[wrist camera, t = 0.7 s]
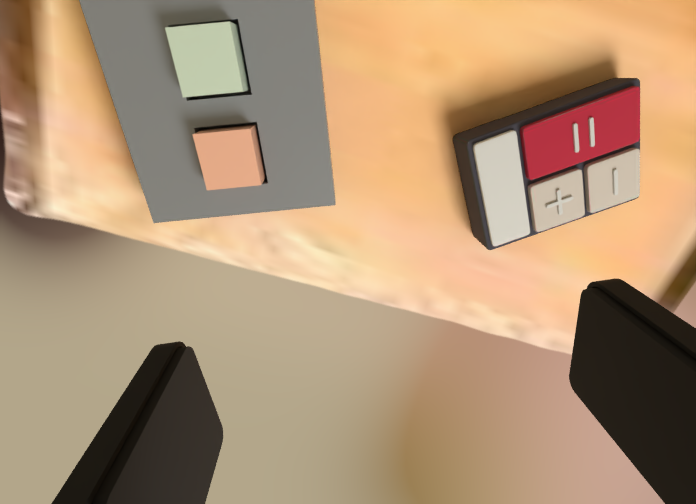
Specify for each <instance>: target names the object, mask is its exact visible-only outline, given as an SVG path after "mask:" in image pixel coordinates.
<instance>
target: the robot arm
mask: <svg viewBox="0 0 696 504" xmlns="http://www.w3.org/2000/svg"><path fill="white" fill-rule="evenodd" d="M569 379H570V383H571V386H572V389H573V390H574V392H575V393H576V394H577V395H578V397H579V398H580V399H581V400H582V402H583V403H584V404H585V405H586V407H587V408H588V409H589V410H590V412H591V413H592V414H593V415H594V416H595V418H596V419H597V420H598V421H599V423H600V424H601V425H602V426H603V428H604V429H605V430H606V431H607V433H608V434H609V435H610V436H611V437H612V439H613V440H614V441H615V442H616V444H617V445H618V446H619V447H620V449H621V450H622V451H623V452H624V453H625V455H626V456H627V457H628V458H629V460H631V462H632V463H633V465H634V466H635V467H636V468H637V470H638V471H639V472H640V473H641V474H642V476H643V477H644V478H645V479H646V481H647V482H648V483H649V484H650V485H651V487H652V488H653V489H654V490H655V492H656V493H657V494H658V495H659V496H660V498H661V499H662V500H663V502H664V503H665V504H696V328H694V327H692V326H691V325H690V324H688V323H687V322H685V321H683V320H682V319H681V318H679V317H677V316H676V315H674V314H673V313H671V312H670V311H668V310H667V309H665V308H664V307H662V306H661V305H659V304H658V303H656V302H655V301H653V300H652V299H650V298H649V297H647V296H646V295H644V294H643V293H641V292H640V291H638V290H637V289H635V288H634V287H632V286H630V285H629V284H627V283H626V282H624V281H623V280H621V279H610V280H603V281H596V282H592V283H590V284H589V285H588V286H587V289H585V290H583V291H582V293H581V298H580V305H579V312H578V319H577V326H576V333H575V339H574V346H573V353H572V360H571V367H570V374H569ZM222 441H223V428H222V425H221V422H220V419H219V416H218V414H217V411H216V409H215V406H214V403H213V401H212V398H211V396H210V393H209V390H208V388H207V385H206V382H205V379H204V377H203V374H202V371H201V369H200V366H199V364H198V361H197V358H196V356H195V353H194V351H193V349H192V348H191V347H186V346H185V344H184V343H183V342H174V343H167V344H160V345H156V346H154V347H153V348H152V350H151V351H150V353H149V355H148V356H147V358H146V359H145V361H144V362H143V364H142V365H141V367H140V368H139V370H138V371H137V373H136V374H135V376H134V377H133V379H132V380H131V382H130V384H129V385H128V387H127V388H126V390H125V391H124V393H123V394H122V396H121V397H120V399H119V401H118V402H117V404H116V405H115V407H114V408H113V410H112V411H111V413H110V414H109V416H108V418H107V419H106V421H105V422H104V424H103V425H102V427H101V428H100V430H99V431H98V433H97V434H96V436H95V438H94V439H93V441H92V442H91V444H90V446H89V447H88V448H87V450H86V451H85V453H84V455H83V456H82V458H81V459H80V461H79V462H78V464H77V465H76V467H75V469H74V470H73V471H72V473H71V475H70V476H69V478H68V479H67V481H66V482H65V484H64V485H63V487H62V489H61V490H60V492H59V493H58V495H57V496H56V498H55V499H54V501H53V502H52V504H205V501H206V498H207V494H208V491H209V487H210V483H211V480H212V477H213V473H214V470H215V466H216V462H217V459H218V456H219V452H220V449H221V445H222Z"/></svg>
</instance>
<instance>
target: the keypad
mask: <svg viewBox="0 0 696 504" xmlns="http://www.w3.org/2000/svg"><path fill="white" fill-rule="evenodd" d="M79 1H80V4H81V7H82V10H83V13H84V16H85V19H86V22H87V25H88V28H89V31H90V34H91V37H92V40H93V43H94V46H95V49H96V52H97V55H98V58H99V61H100V64H101V67H102V70H103V73H104V76H105V79H106V82H107V85H108V88H109V91H110V94H111V97H112V100H113V103H114V106H115V109H116V112H117V115H118V118H119V121H120V124H121V127H122V130H123V133H124V136H125V139H126V142H127V145H128V148H129V151H130V154H131V157H132V160H133V163H134V165H135V168H136V171H137V174H138V177H139V180H140V183H141V186H142V189H143V192H144V195H145V198H146V201H147V204H148V207H149V210H150V213H151V216H152V219H153V222H154V223H159V222H169V221H179V220H189V219H199V218H209V217H219V216H229V215H239V214H249V213H260V212H270V211H280V210H290V209H300V208H310V207H320V206H330V205H336V204H335V190H334V181H333V172H332V162H331V153H330V143H329V134H328V124H327V115H326V105H325V96H324V86H323V77H322V67H321V58H320V48H319V39H318V29H317V20H316V10H315V1H314V0H79ZM229 21H230V22H232V23H234V24H236V25H238V30H239V36H240V41H241V47H242V52H243V57H244V63H245V68H246V74H247V79H248V84H249V90H248V91H244V92H235V93H224V94H214V95H204V96H193V97H183V96H182V92H181V88H180V84H179V80H178V77H177V73H176V69H175V65H174V61H173V57H172V53H171V49H170V46H169V42H168V38H167V34H166V30H165V28H166V27H177V26H187V25H198V24H208V23H219V22H229ZM245 125H256V128H257V133H258V138H259V144H260V149H261V155H262V160H263V165H264V171H265V176H266V178H265V179H264V181H263V183H262V185H258V186H248V187H237V188H227V189H217V190H207V189H206V185H205V181H204V177H203V173H202V169H201V166H200V162H199V158H198V154H197V150H196V146H195V142H194V138H193V135H192V134H194V133H196V132H198V131H201V130H204V129H214V128H225V127H235V126H245Z"/></svg>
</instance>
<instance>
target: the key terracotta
mask: <svg viewBox="0 0 696 504" xmlns="http://www.w3.org/2000/svg"><path fill="white" fill-rule="evenodd" d="M192 135H193V138H194V142H195V146H196V150H197V154H198V158H199V162H200V166H201V169H202V173H203V177H204V181H205V185H206V189H207V190H217V189H227V188H237V187H248V186H258V185H262V183H263V181H264V179H265V178H266V176H265V171H264V165H263V160H262V155H261V149H260V144H259V138H258V133H257V128H256V125H245V126H235V127H225V128H214V129H204V130H201V131H198V132H196V133H194V134H192Z"/></svg>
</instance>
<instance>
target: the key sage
mask: <svg viewBox="0 0 696 504" xmlns="http://www.w3.org/2000/svg"><path fill="white" fill-rule="evenodd" d="M165 30H166V34H167V38H168V42H169V46H170V49H171V53H172V57H173V61H174V65H175V69H176V73H177V77H178V80H179V84H180V88H181V92H182V96H183V97H193V96H204V95H214V94H224V93H235V92H244V91H248V90H249V84H248V79H247V74H246V68H245V63H244V57H243V52H242V47H241V41H240V36H239V30H238V25H236V24H234V23H232V22H230V21H229V22H219V23H208V24H198V25H187V26H177V27H166V28H165Z"/></svg>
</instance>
